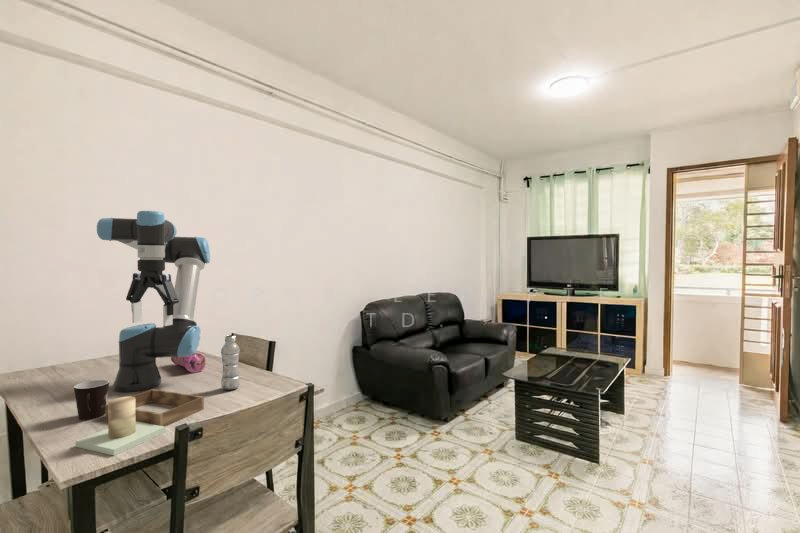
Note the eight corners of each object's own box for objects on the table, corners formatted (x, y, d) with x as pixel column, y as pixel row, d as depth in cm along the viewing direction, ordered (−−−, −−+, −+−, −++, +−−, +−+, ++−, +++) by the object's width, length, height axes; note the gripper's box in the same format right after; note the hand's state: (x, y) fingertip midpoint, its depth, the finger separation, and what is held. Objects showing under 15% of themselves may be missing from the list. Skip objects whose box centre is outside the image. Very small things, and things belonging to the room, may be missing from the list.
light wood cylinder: (102, 436, 102) (102, 402, 102) (125, 427, 108) (125, 395, 108) (118, 440, 101) (118, 405, 100) (140, 430, 106) (140, 398, 106)
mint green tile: (75, 446, 100) (75, 440, 100) (129, 425, 113) (129, 419, 113) (114, 455, 95) (114, 449, 95) (164, 432, 109) (164, 426, 109)
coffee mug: (87, 411, 124) (87, 380, 123) (115, 410, 124) (115, 379, 124) (58, 426, 112) (58, 392, 112) (90, 425, 113) (89, 391, 112)
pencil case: (168, 366, 177) (168, 346, 177) (190, 362, 183) (190, 343, 183) (185, 375, 162) (185, 354, 162) (208, 371, 169) (208, 351, 169)
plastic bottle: (244, 387, 147) (244, 335, 147) (229, 392, 141) (229, 338, 141) (231, 385, 150) (231, 333, 150) (216, 390, 144) (216, 336, 143)
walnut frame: (105, 418, 118) (105, 405, 118) (152, 400, 133) (152, 389, 133) (160, 428, 111) (160, 414, 111) (203, 409, 126) (203, 396, 126)
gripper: (112, 258, 126) (113, 322, 127) (170, 259, 118) (171, 328, 119) (134, 257, 133) (135, 319, 134) (190, 259, 125) (191, 324, 126)
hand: (152, 323), depth 126 cm, fingers open, 13 cm apart
